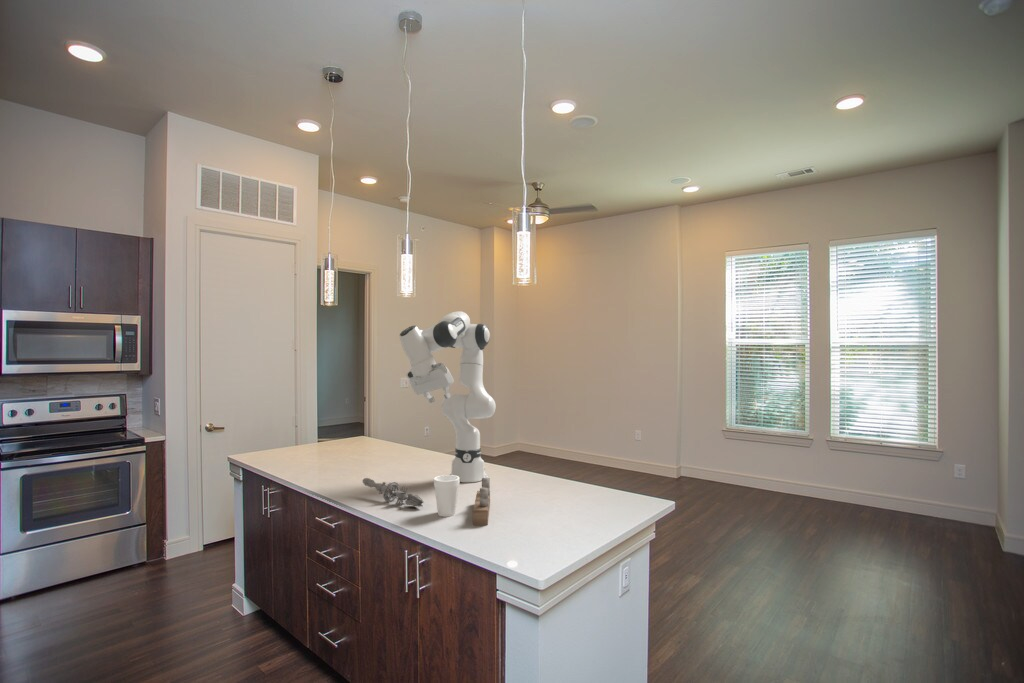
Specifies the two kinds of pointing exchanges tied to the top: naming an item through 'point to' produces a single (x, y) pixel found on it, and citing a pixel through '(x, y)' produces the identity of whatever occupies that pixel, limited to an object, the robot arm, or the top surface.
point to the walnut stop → (482, 504)
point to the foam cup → (446, 494)
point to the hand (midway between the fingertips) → (440, 400)
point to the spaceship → (394, 493)
